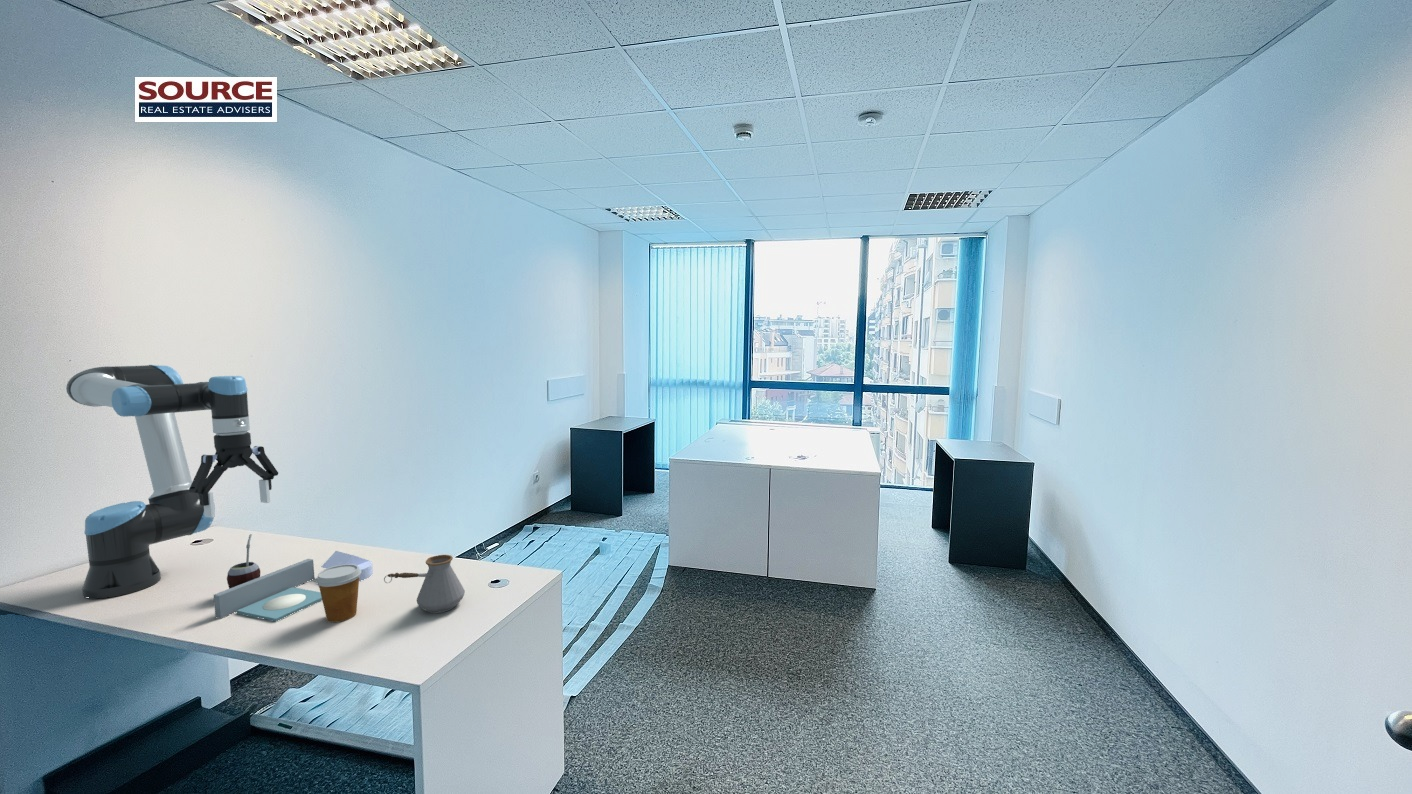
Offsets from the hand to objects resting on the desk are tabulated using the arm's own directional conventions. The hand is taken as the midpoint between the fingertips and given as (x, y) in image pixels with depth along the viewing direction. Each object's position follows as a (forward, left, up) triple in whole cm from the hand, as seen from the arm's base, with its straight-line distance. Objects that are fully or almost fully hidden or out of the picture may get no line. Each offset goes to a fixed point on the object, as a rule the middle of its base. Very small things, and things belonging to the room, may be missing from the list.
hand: (238, 509), depth 148 cm
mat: (+18, -2, -24) cm, 30 cm away
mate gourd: (0, 0, -24) cm, 24 cm away
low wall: (+9, 0, -24) cm, 25 cm away
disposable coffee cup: (+38, -2, -24) cm, 45 cm away
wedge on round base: (+18, +17, -24) cm, 35 cm away
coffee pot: (+58, +5, -24) cm, 63 cm away
